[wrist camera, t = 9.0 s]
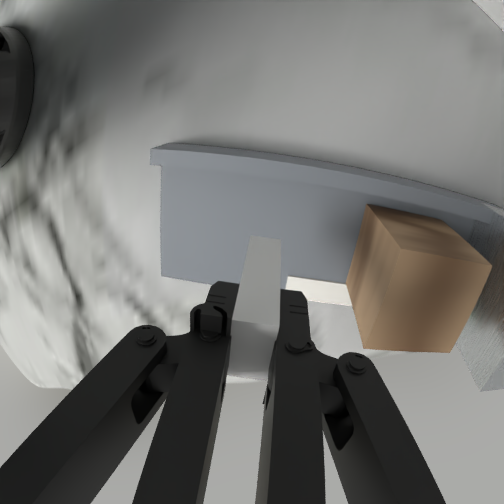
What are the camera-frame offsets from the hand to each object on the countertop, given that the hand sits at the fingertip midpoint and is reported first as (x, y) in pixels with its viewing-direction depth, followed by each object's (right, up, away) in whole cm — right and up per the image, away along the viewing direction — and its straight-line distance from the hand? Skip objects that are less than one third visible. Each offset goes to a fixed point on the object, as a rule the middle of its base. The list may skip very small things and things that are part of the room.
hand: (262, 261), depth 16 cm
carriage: (+10, 0, +5) cm, 11 cm away
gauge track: (+6, +2, +6) cm, 9 cm away
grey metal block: (+17, 0, +4) cm, 18 cm away
